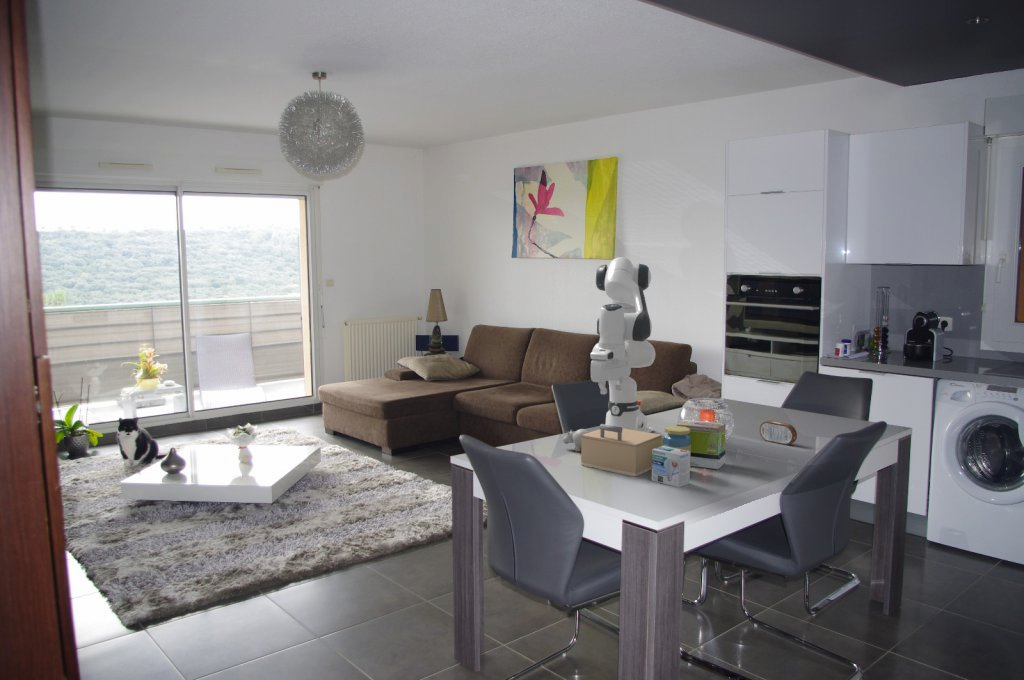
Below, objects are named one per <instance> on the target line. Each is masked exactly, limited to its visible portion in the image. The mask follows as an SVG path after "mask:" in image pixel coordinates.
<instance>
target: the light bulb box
mask: <svg viewBox="0 0 1024 680" xmlns="http://www.w3.org/2000/svg"><path fill="white" fill-rule="evenodd" d="M690 473H691V466H690V451H686V450H681V449H677V448H672V447H667V446H664V445H662V446H661V447H658V448H655V449H652V469H651V481H653V482H655V483H660V484H663V485H667V486H670V487H675V488H681V487H682V486H685V485H688V484H690V482H691V481H690V477H691V476H690Z"/></svg>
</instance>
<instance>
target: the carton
mask: <svg viewBox="0 0 1024 680" xmlns="http://www.w3.org/2000/svg"><path fill="white" fill-rule="evenodd" d="M661 446H663V436H662V437H661V438H658V439H656V440H653V441H650V442H648V443H645V444H642V445H640V446H637V447H633V446H627V445H621V444H616V443H610V442H605V441H599V440H594V439H588V438H583V437H581V452H580V455H581V456H580V461H581V462H580V465H581V466H583V465H584V467H589V468H592V467H594V468H593V469H597V468H598V469H597V470H601V471H607V472H612V473H616V474H621V475H626V476H631V477H638V476H640V475H642V474H644V473H647V472H649V471H652V449H655V448H658V447H661Z"/></svg>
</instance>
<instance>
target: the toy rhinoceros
mask: <svg viewBox="0 0 1024 680" xmlns="http://www.w3.org/2000/svg"><path fill="white" fill-rule="evenodd" d="M589 432H590V431H589V430H588V429H585V428H579V429H577V430H576V431H575V432H574V431H573V429H570V431H566V435H565V434H564V433H563V434H562V441H563V443H564V444H567V445H568V444H569V443H571V444H573V443H574V445H575V446H574V452H576V453H581V435H583V434H586V433H589Z"/></svg>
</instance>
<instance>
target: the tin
mask: <svg viewBox="0 0 1024 680" xmlns="http://www.w3.org/2000/svg"><path fill="white" fill-rule="evenodd" d="M759 434H760V437H761V438H762V439H763V440H764V441H765V442H769V443H774V444H778V445H779V444H780V445H785V446H786V445H787V446H789V445H792V444H794V443H795V442H796V440H797V438H798V433H797V430H796V428H795V427H794V426H793V425H792V424H791V423H787V422H781V421H777V420H773V419H772V420H771V419H769V420H765V421H763V422H762V423H761V424H760V426H759Z"/></svg>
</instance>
